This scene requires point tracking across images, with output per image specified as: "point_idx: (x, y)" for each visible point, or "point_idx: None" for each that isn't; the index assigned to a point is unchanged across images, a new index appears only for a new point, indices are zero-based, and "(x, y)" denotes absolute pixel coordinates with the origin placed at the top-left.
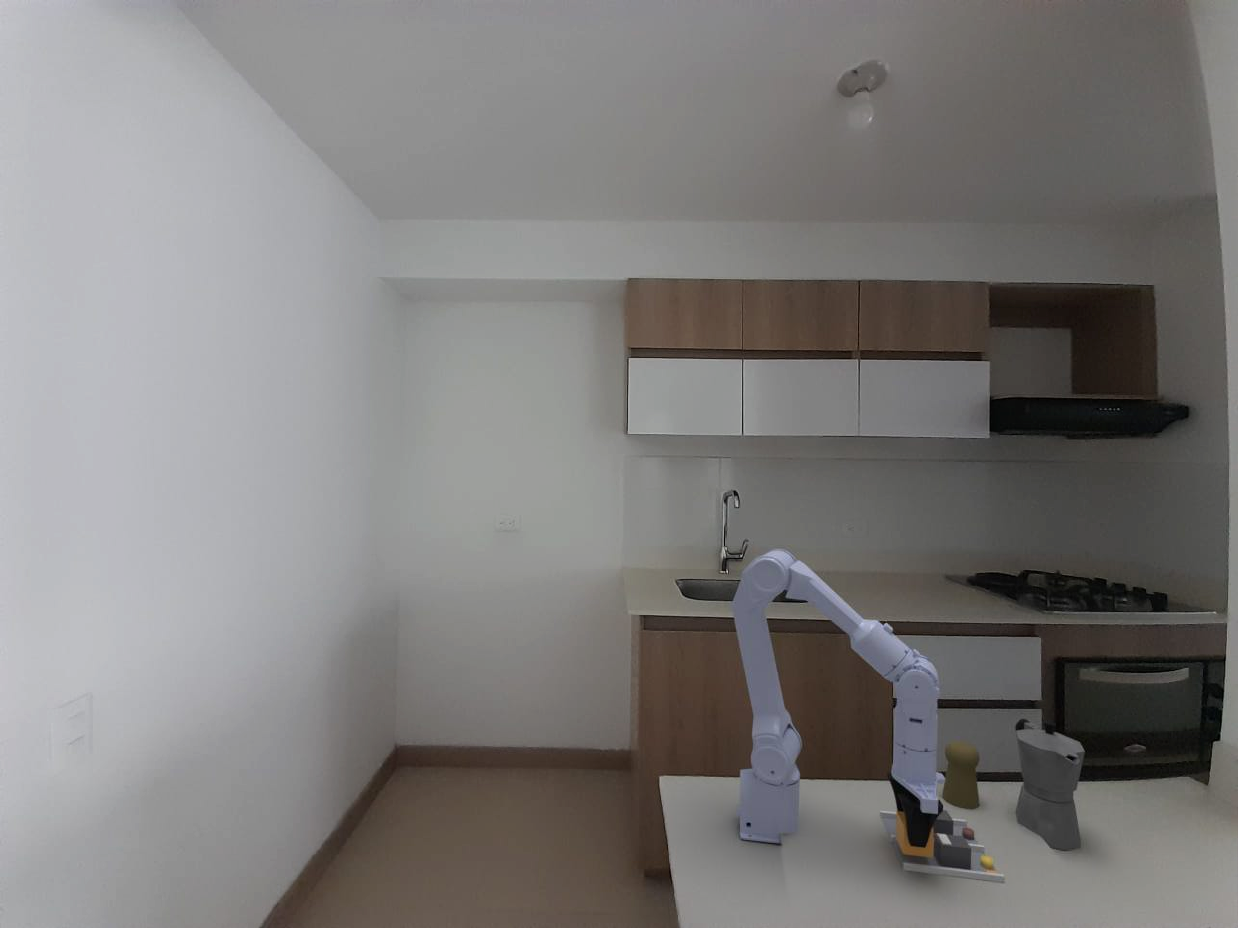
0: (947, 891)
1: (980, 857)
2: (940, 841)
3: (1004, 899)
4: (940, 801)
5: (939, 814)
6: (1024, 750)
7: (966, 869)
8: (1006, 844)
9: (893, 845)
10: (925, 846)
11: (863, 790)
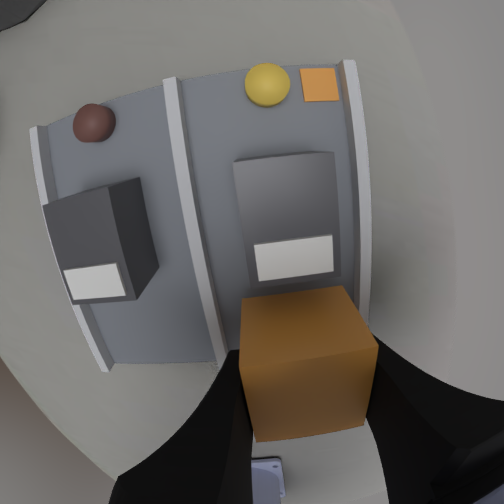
0: (374, 230)
1: (218, 98)
2: (313, 274)
3: (365, 83)
4: (484, 442)
5: (493, 399)
6: None
7: None
8: (76, 31)
9: None
10: None
11: (12, 345)
